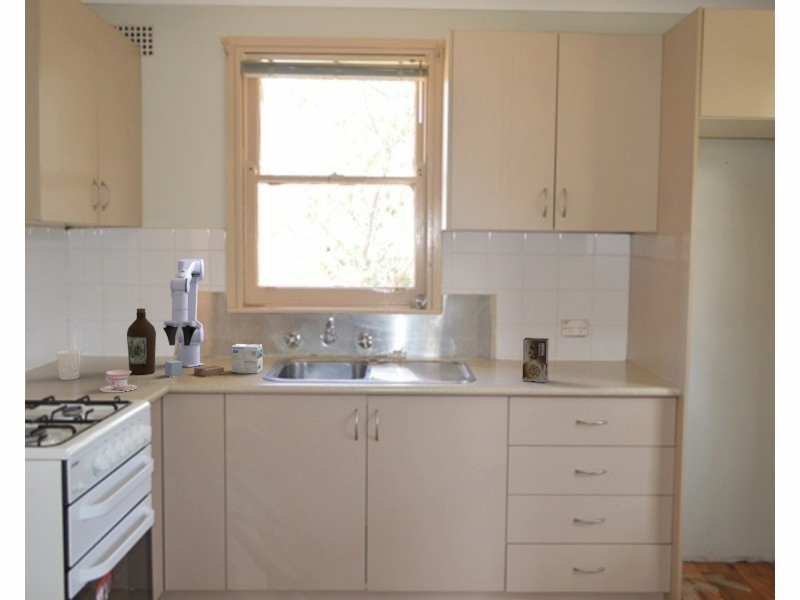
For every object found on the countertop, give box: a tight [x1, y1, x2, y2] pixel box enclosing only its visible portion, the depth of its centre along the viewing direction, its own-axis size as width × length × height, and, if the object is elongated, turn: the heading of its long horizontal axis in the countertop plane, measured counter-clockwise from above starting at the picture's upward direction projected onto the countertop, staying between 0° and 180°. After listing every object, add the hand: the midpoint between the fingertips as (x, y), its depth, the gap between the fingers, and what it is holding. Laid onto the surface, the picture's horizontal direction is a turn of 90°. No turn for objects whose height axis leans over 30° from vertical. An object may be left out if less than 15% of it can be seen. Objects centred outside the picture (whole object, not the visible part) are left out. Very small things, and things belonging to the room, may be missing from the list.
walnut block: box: [193, 364, 225, 377], centre depth 272 cm, size 8×8×3 cm
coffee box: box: [521, 337, 549, 384], centre depth 266 cm, size 9×6×16 cm
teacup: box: [99, 369, 138, 394], centre depth 243 cm, size 12×12×6 cm
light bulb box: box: [231, 343, 263, 374], centre depth 277 cm, size 11×7×11 cm, turn 84°
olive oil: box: [126, 307, 157, 376], centre depth 272 cm, size 11×11×25 cm
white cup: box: [56, 349, 81, 381], centre depth 260 cm, size 8×8×10 cm
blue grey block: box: [164, 359, 183, 378], centre depth 268 cm, size 4×4×6 cm
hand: (179, 345), depth 266 cm, fingers open, 7 cm apart
